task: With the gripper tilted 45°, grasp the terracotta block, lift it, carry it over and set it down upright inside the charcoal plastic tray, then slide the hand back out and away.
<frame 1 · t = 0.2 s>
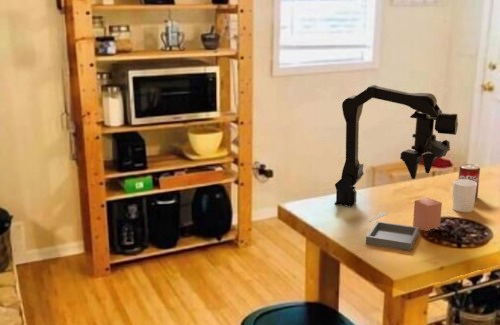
hand: (420, 175, 202), 14 cm above the kitchen island, tool pointing down, fingers open, 9 cm apart
terracotta block: (426, 227, 194), on the kitchen island
butter knife: (367, 223, 199), on the kitchen island
white cup: (462, 209, 209), on the kitchen island
charcoal tray: (392, 239, 185), on the kitchen island
soda can: (467, 197, 221), on the kitchen island
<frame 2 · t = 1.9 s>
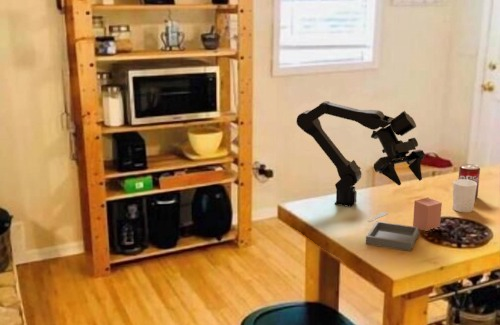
hand: (410, 182, 197), 13 cm above the kitchen island, tool tilted 45°, fingers open, 9 cm apart
nothing on the kitchen island moved.
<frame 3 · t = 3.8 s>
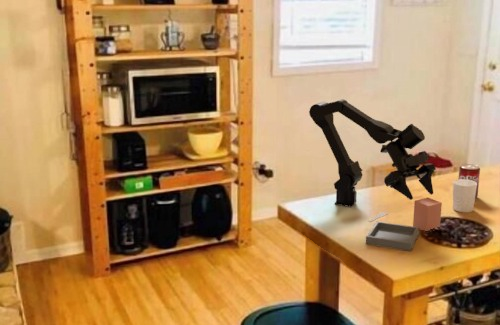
hand: (422, 196, 194), 10 cm above the kitchen island, tool tilted 45°, fingers open, 9 cm apart
nothing on the kitchen island moved.
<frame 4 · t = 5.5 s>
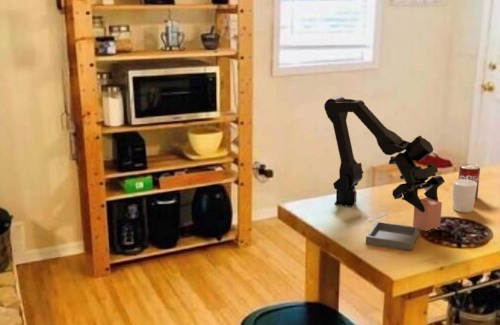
hand: (430, 209, 191), 7 cm above the kitchen island, tool tilted 45°, fingers closed on terracotta block, 6 cm apart
terracotta block: (426, 227, 194), on the kitchen island, touching gripper
everything else where it was.
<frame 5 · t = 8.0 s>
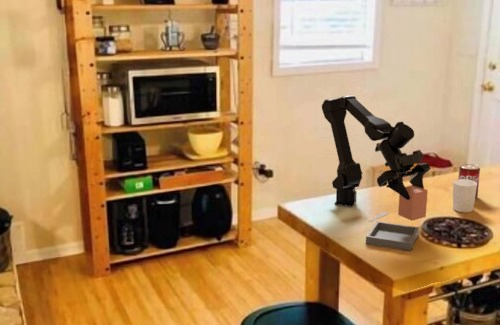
hand: (416, 197, 185), 12 cm above the kitchen island, tool tilted 45°, fingers closed on terracotta block, 6 cm apart
terracotta block: (411, 215, 188), point 6 cm above the kitchen island, touching gripper
everything else where it was.
when the fingers open (8 cm above the kitchen island, at t = 10.9 s): terracotta block stays where it is, resting on charcoal tray.
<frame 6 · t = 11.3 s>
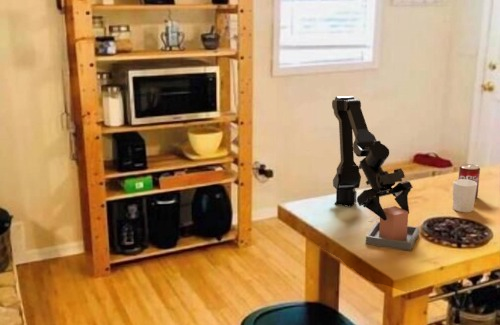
hand: (397, 216, 182), 8 cm above the kitchen island, tool tilted 45°, fingers open, 9 cm apart
terracotta block: (392, 237, 185), point 1 cm above the kitchen island, touching charcoal tray
everything else where it was.
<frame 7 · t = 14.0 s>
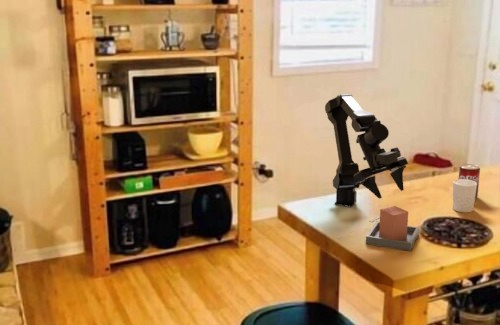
hand: (391, 194, 189), 12 cm above the kitchen island, tool tilted 35°, fingers open, 9 cm apart
nothing on the kitchen island moved.
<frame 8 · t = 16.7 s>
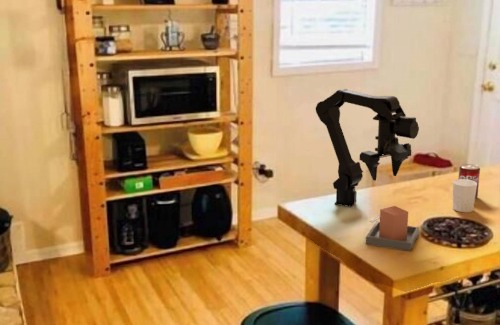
hand: (384, 178, 203), 13 cm above the kitchen island, tool pointing down, fingers open, 9 cm apart
nothing on the kitchen island moved.
at the end: terracotta block inside the target area on the charcoal tray (0.0 cm from its centre), point 0.6 cm above the charcoal tray's base; terracotta block tilted 0°; the gripper is holding nothing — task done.
